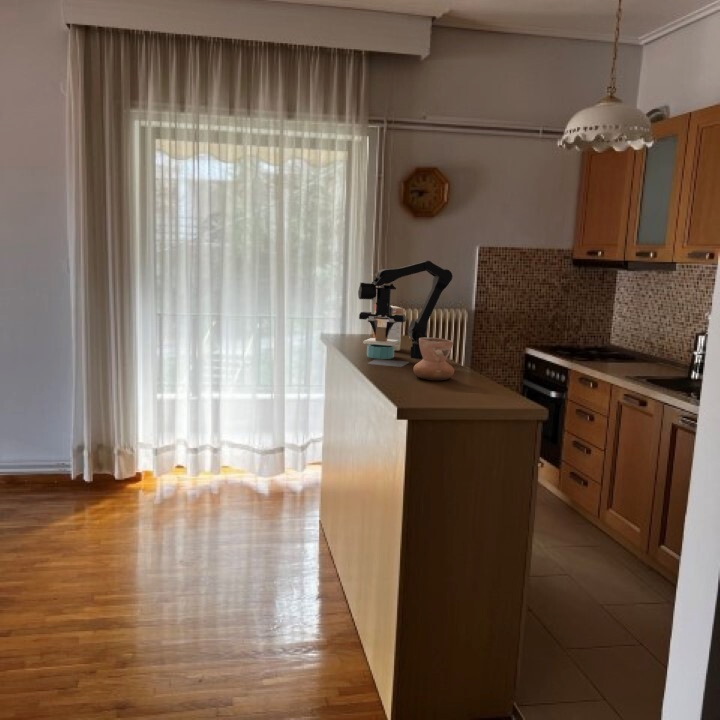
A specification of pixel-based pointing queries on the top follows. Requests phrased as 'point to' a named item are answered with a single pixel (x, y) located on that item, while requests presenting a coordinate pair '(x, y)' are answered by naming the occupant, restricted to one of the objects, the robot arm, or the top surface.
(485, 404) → the top surface
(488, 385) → the top surface
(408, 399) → the top surface
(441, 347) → the ceramic jug
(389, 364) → the mat
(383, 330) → the lid
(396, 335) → the coffeecake box
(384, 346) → the bowl
